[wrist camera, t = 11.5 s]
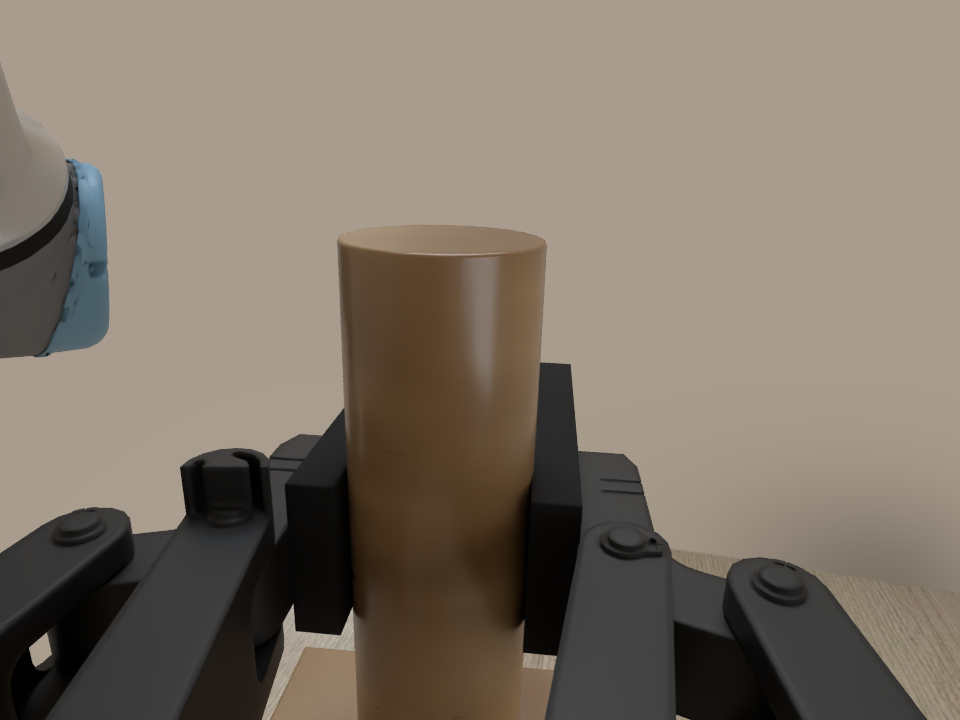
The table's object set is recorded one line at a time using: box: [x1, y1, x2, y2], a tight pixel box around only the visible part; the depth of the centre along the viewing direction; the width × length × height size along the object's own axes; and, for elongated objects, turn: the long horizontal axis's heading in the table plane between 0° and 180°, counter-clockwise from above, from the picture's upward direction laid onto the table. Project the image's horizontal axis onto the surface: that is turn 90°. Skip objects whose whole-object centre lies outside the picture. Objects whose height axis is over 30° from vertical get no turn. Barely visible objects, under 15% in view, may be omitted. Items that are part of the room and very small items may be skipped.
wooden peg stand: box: [270, 225, 554, 720], centre depth 12 cm, size 7×5×13 cm
